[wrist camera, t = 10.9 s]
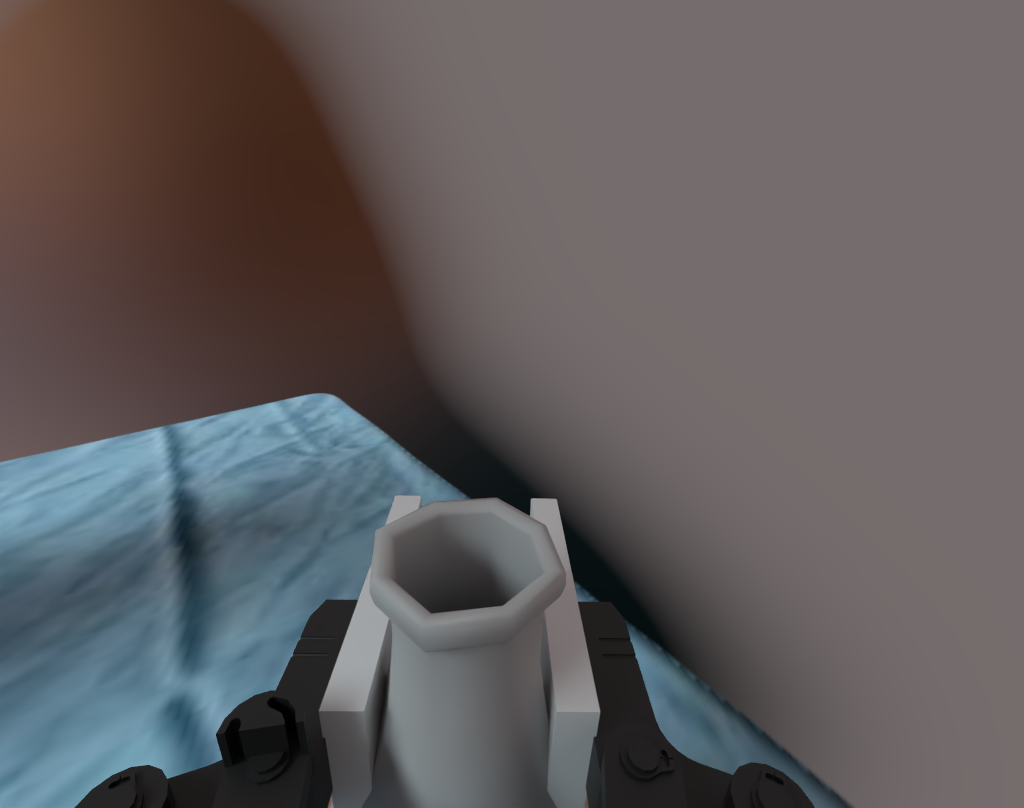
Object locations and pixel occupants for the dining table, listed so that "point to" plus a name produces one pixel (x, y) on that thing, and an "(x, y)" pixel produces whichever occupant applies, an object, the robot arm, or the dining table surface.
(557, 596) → the flask
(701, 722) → the dining table surface
